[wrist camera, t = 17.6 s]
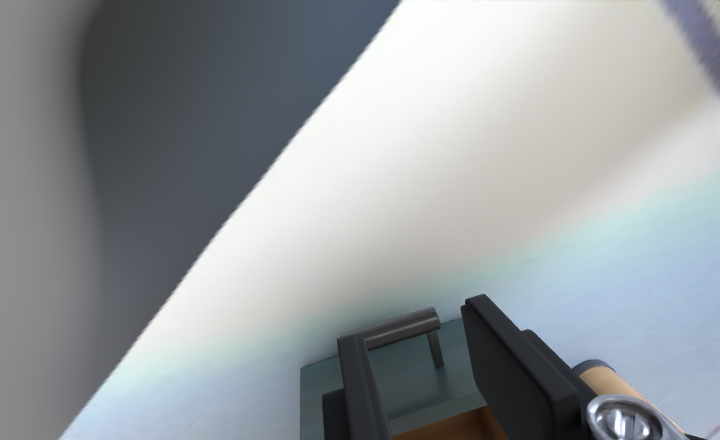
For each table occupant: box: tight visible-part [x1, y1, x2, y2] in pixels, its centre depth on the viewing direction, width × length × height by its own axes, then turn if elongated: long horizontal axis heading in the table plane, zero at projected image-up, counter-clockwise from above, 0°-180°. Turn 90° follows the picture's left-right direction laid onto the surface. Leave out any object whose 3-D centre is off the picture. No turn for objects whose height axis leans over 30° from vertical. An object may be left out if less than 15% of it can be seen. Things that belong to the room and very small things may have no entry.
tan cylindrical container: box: [572, 360, 687, 434], centre depth 28 cm, size 5×5×10 cm
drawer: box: [300, 307, 509, 440], centre depth 26 cm, size 19×13×7 cm
